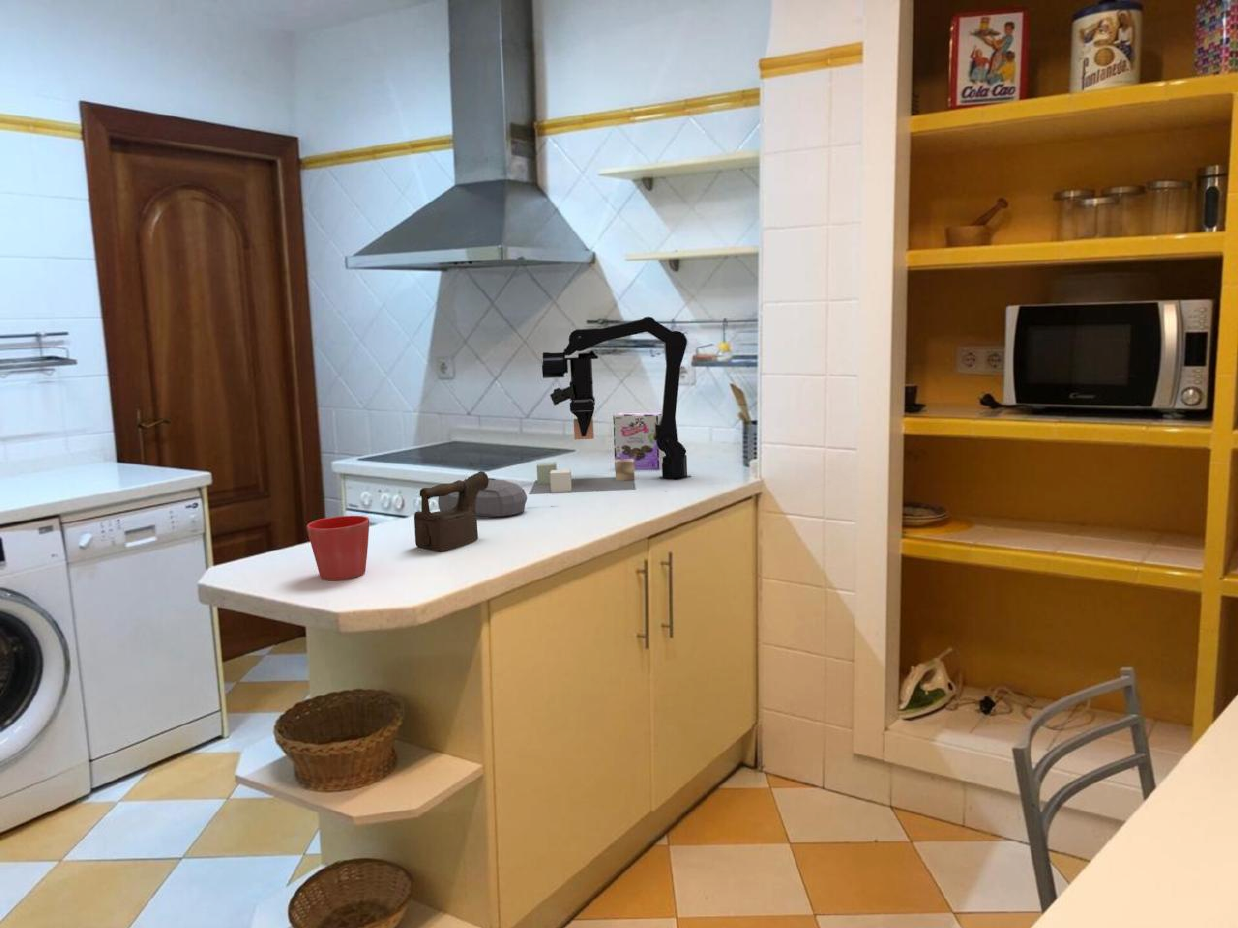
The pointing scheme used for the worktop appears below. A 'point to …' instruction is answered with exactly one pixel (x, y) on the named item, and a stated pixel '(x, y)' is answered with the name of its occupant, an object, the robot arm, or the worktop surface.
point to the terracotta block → (578, 433)
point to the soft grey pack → (492, 499)
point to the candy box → (637, 439)
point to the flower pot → (340, 546)
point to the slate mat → (588, 485)
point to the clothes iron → (449, 515)
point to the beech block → (624, 470)
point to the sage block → (545, 472)
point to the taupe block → (560, 480)
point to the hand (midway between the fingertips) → (584, 434)
